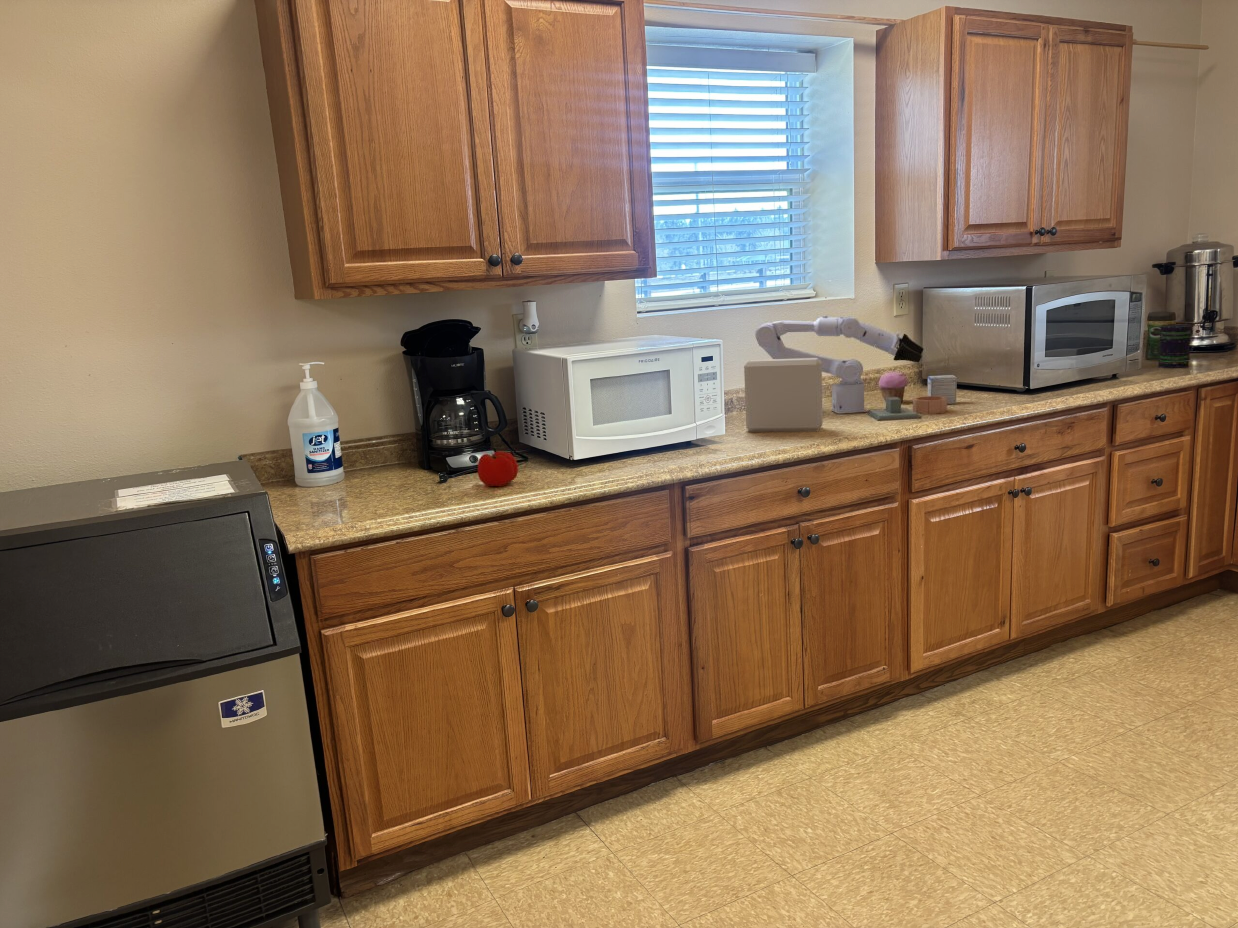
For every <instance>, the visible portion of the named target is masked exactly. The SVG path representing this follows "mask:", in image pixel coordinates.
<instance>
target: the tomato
mask: <svg viewBox="0 0 1238 928" xmlns="http://www.w3.org/2000/svg"><path fill="white" fill-rule="evenodd" d="M518 473H519V466H518V461H517V460H516V458H515V457H514V455H512V454H511V453H510V452H507V451H506V452H505V451H501V450H499V451H495V452H494V453H491V455H490V454H488V453H483V454H482V455H481V456H480V458H479V460H478V463H477V475H478V478H479V480H480V482H481V483H482V484H483V485H485V486H487V487H497V486H501V487H503V486H504V485H505V486H506V485H507V484H508V483H511V482H512V481H513V480H515V479H516V478H517V475H518Z"/></svg>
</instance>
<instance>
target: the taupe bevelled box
mask: <svg viewBox="0 0 1238 928" xmlns="http://www.w3.org/2000/svg"><path fill="white" fill-rule="evenodd" d="M743 367H744V368H743V369H744V370H743V374H744V400H745V406H744V407H745V425H746V426H745V427H746V429H747V430H748V432H751V433H752V432H755V433H756V432H757V433H761V432H768V433H769V432H819V430H820V429H821V428H822V427H823V424H824V423H823V422H824V421H823V372H822V362H821V361H820V360H819V359H818V358H798V359H773V358H771V359H750V360H747V362H746V363H745V364H744V366H743Z"/></svg>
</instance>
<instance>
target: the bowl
mask: <svg viewBox="0 0 1238 928" xmlns="http://www.w3.org/2000/svg"><path fill="white" fill-rule="evenodd" d="M912 411H914V412H916V413H921V414H920V415H936V414H935V413H941V414H944V413H947V411H948V404H947V398H945V397H942V396H928V395H926V396H922V395H921V396H916V397H913V398H912Z"/></svg>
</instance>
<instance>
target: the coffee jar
mask: <svg viewBox="0 0 1238 928" xmlns="http://www.w3.org/2000/svg"><path fill="white" fill-rule="evenodd" d="M1176 323H1177V315H1176V312H1174V311H1168V310H1167V311H1166V310H1165V311H1163V310H1161V311H1159V310H1158V311H1151V312H1148V315H1147V318H1146V326H1147V339H1146V345H1145V351H1144V352H1145V353H1144V358H1145V359H1146V360H1148V361H1149V360H1150V361H1159V360H1158V357H1159V352H1160V337H1161V336H1160V333H1161V332H1160V330H1161V328H1160V326H1162V325H1177V324H1176Z"/></svg>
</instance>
